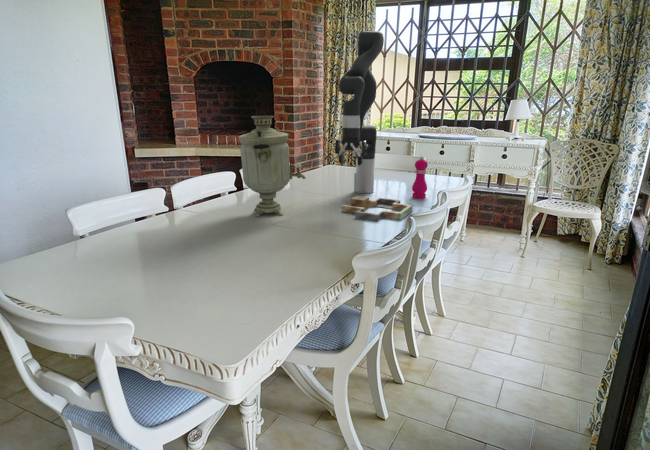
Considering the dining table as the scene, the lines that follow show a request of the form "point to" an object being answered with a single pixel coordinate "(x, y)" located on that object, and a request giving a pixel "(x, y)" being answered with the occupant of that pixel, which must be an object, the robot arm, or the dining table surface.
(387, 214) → the wooden strip frame
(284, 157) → the samovar
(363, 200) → the walnut block
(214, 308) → the dining table surface
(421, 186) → the pepper mill
